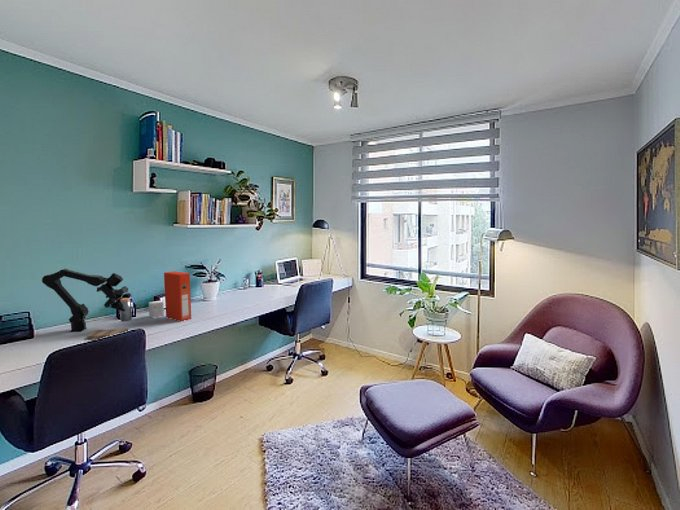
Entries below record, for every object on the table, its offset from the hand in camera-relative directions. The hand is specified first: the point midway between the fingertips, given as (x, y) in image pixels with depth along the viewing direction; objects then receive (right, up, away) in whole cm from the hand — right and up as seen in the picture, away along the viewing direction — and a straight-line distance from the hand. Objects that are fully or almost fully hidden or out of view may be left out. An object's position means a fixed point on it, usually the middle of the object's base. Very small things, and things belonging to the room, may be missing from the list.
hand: (127, 309), depth 224 cm
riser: (-5, -14, -11) cm, 18 cm away
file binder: (+20, -10, +26) cm, 34 cm away
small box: (+2, -10, +31) cm, 32 cm away
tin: (-1, -7, +1) cm, 7 cm away
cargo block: (-1, +5, 0) cm, 5 cm away
